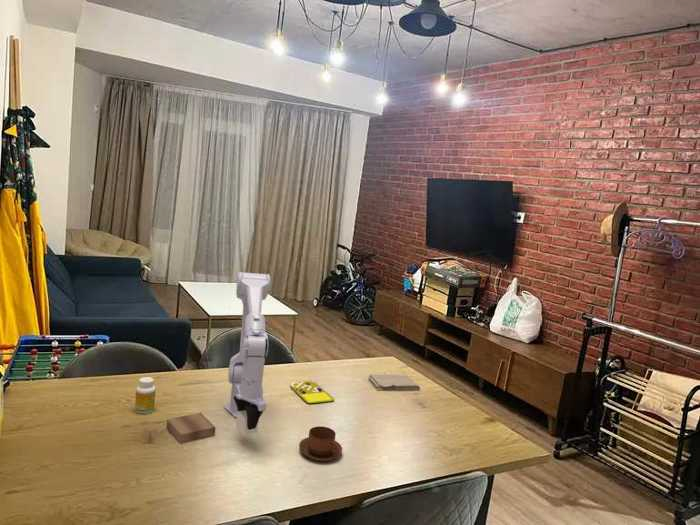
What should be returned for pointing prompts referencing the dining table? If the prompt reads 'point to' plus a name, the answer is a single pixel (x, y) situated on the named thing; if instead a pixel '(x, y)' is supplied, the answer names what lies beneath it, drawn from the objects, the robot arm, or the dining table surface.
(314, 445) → the cup and saucer
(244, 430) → the white block
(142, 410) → the supplement bottle
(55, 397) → the dining table surface
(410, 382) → the washcloth
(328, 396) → the game console
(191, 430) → the walnut block
